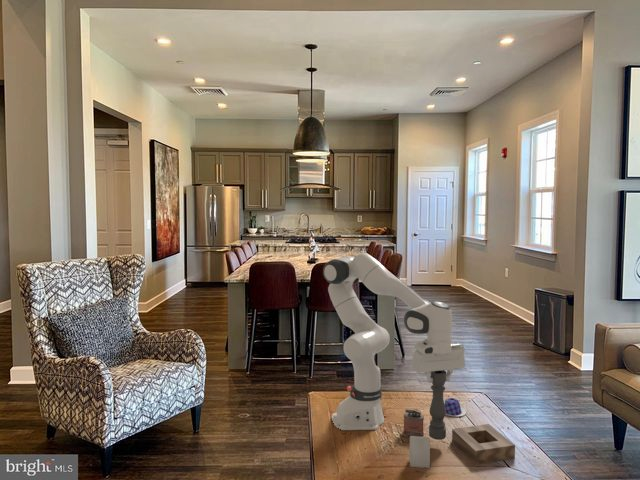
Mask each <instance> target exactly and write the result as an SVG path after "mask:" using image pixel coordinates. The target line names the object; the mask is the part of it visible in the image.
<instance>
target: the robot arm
mask: <svg viewBox="0 0 640 480" xmlns="http://www.w3.org/2000/svg"><path fill="white" fill-rule="evenodd" d="M322 275H323V278H324V279H325V280H326V282H328V283H329V285H328V287H327V290H328V291H327V292H328V294H329V299H330V301H331V302H332V303H331V304H332V305H333V307H334V309H335V311H336V313H337V315H338V318H339V319H340V321H341V323H342V324H343V325H344V326H345V327H348V328H349V329H350V330H352V331H353V334H351V335H350V336H349V337H348V338H347V339H346V340H345V341H344V343H343V352H344V355H345V356H346V357H347V358H348V359H349V360H350V361H351V363H352V366H353V367H352V368H353V373H354V374H353V375H354V376H353V377H354V385H353V386H352V387H351V385H348V386H346V390H347V392H348V393H349V395H348V396H347V397H346V398H345V399H343V400H342V401H341V402H339V403H338V404H337V409H336V412H334V413H332V415H331V421H333V422H332V424H333V423H334V424H333V425H334V427H336V429H338V428H339V429H338V430H340V429H341V430H340V431H369V430H371V431H372V430H375V431H376V430H377V429H378V428H379V426H380V425H382V424H383V423H384V422H385V417H384V414H383V408H382V393H383V392H382V386H381V369H380V368H379V366H378V365H376V361H375V355H376V354H378V353H381V352H382V351H384V349H385V348H387V346H388V345H389V344H390V341H391V340H390V339H391V338H390V333H389V332H388V330H387V329H386V328H385V327H383V326H380V325H379V324H377V323H376V321H374V319H372V318H371V316H370V315H369V314H368V313H367V312H366V310H365V307H364V306H363V305H362V303H361V301H360V300H359V298H358V295H357V294H356V292H355V290H354V288H353V285H354V284H358V282H359V281H360V282H361V283H362V284H363V285H364V286H365V287H366V288H367V289H368V290H369V291H371V292H372V293H374V294H376V295H379V296H390V297H396V298H397V299H399V300H401V301H402V302H403V303H405V304H406V305H407V306H408V307H409V308H410V309H409V310H408V311H406V312H405V314H404V316H403V324H404V326H405V328H406V330H407V331H408V332H409V333H411V334H416V335H417V334H418V335H420V334H421V335H422V334H423V335H425V334H426V335H427V337H426V339H424V340H422V341H419V342H417V343H415V344H414V349H415V350H414V351H413V354H412V361H411V362H412V364H411V366H412V367H411V368H412V369H413V371H415V372H416V373H419V374H420V373H424V374H425V376H426V381H427V383H429V384H432V382H433V378H432V377H431V371H442V370H444V371H446V381H445V382H449V381H450V380H451V376H452V374H453V372H454V370H462V369H465V368H464V367H466V360H465V346H464V345H462V344H461V343H457V344H454V343H452V342H453V341H452V340H453V339H452V329H453V313H452V308H451V307H450V305H449V304H447V303H445V302H442V301H436V300H435V301H434V300H433V301H428V300H427V299H425V298H424V297H422V295H420V294H419V293H418V292H416V291H415V289H413V288H412V287H410V286H409V285H408V284H406V283H405V282H404V281H403V280H401V279H399V278H398V277H397V276H396V275H394V274H393V273H392V272H391V271H389V270H388V269H387V268H386V267H385V266H384V265H383V264H382V263H381V262H380V261H378V259H376V258H375V257H373V256H372V255H371V254H369V253H367V252H360V253H358V254H356V255H355V254H354V255H345V256H340V257H338V258H335V259H331V260H329V261H327V262H326V263H325V265H324V266H323V269H322Z"/></svg>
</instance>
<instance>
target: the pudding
mask: <svg viewBox="0 0 640 480" xmlns="http://www.w3.org/2000/svg"><path fill="white" fill-rule="evenodd" d="M444 404H445V409H446V415H445V416H450V417H463V416H465V415H466V414H467V410H466V409H465V408H464V407H462V406H461V404H460V401H459V400H458V399H456V398H454V397H449V398H446V399H445V400H444Z"/></svg>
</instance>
